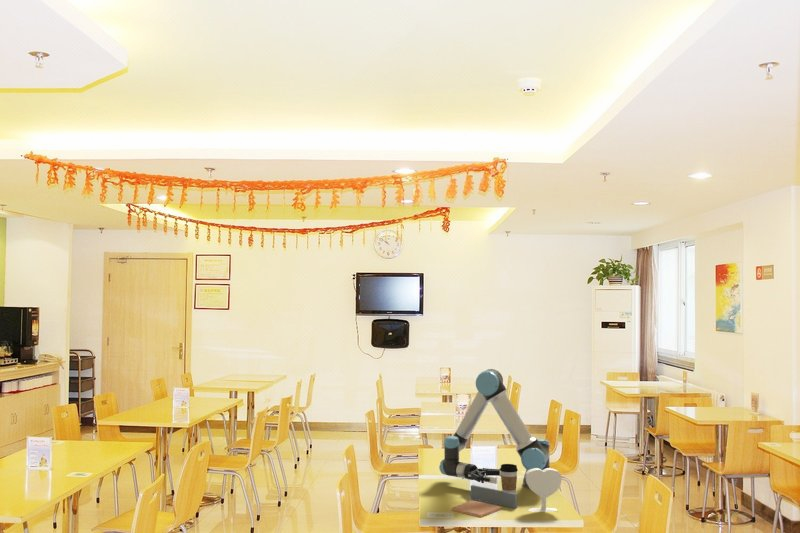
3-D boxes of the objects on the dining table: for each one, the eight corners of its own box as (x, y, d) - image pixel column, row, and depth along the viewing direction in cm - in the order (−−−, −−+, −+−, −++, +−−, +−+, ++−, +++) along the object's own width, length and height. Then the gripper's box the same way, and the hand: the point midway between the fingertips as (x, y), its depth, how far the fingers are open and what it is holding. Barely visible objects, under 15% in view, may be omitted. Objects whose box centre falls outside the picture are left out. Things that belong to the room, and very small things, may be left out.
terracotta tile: (471, 502, 314) (471, 500, 314) (501, 509, 303) (501, 506, 303) (451, 510, 301) (451, 507, 302) (481, 517, 291) (481, 515, 291)
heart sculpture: (559, 508, 305) (558, 467, 306) (562, 511, 300) (562, 470, 301) (525, 508, 304) (524, 467, 305) (527, 511, 299) (527, 470, 300)
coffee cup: (504, 499, 319) (504, 467, 320) (497, 494, 327) (497, 463, 328) (521, 498, 321) (520, 466, 322) (513, 493, 329) (513, 462, 330)
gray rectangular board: (472, 497, 321) (472, 485, 322) (516, 507, 306) (516, 493, 306) (470, 498, 320) (470, 485, 321) (515, 508, 305) (515, 494, 305)
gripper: (481, 474, 349) (517, 481, 335) (452, 483, 330) (489, 491, 316) (481, 459, 349) (517, 465, 335) (452, 467, 330) (489, 474, 316)
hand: (504, 478), depth 325 cm, fingers open, 13 cm apart
